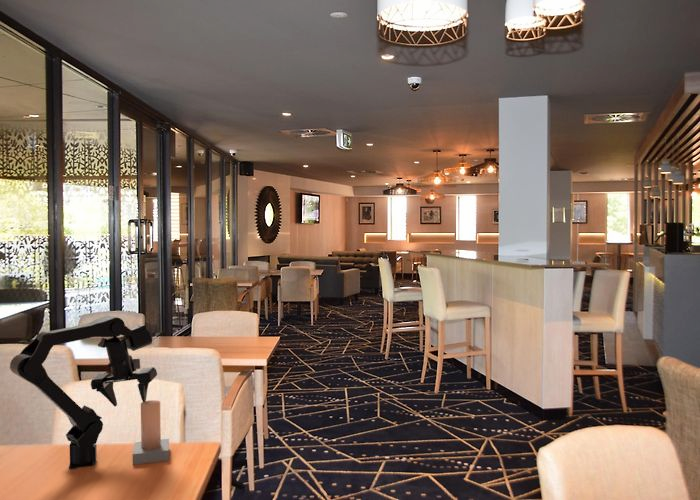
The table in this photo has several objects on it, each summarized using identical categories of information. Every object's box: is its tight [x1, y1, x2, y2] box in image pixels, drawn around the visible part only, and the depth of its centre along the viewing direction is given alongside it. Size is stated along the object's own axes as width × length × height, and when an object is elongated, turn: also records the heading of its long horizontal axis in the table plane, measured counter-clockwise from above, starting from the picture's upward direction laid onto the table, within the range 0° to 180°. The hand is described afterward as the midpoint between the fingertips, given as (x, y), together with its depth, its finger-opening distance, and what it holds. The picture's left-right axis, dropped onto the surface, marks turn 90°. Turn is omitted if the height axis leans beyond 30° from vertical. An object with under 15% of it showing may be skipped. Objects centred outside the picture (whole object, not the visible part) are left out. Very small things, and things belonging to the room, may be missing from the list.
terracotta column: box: [140, 399, 162, 450], centre depth 174 cm, size 6×6×13 cm
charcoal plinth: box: [132, 438, 170, 465], centre depth 175 cm, size 10×10×3 cm
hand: (130, 404), depth 180 cm, fingers open, 9 cm apart
